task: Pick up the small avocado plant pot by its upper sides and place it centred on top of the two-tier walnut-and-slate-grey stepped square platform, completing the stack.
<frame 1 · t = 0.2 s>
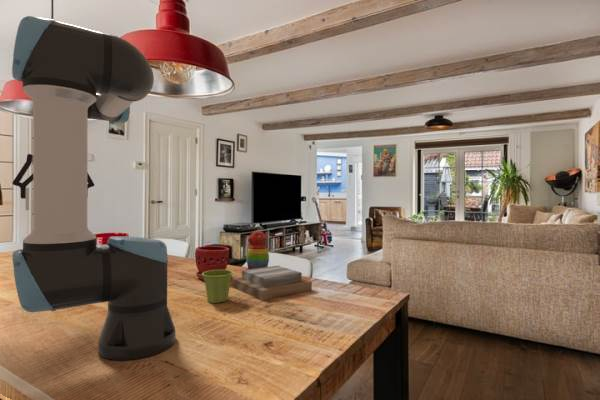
hand: (55, 209, 106), 28 cm above the table, fingers open, 13 cm apart
plant pot: (217, 301, 107), on the table
plant pot 2: (212, 278, 138), on the table
stepped square platform: (271, 288, 122), on the table
stacking bear: (256, 273, 146), on the table
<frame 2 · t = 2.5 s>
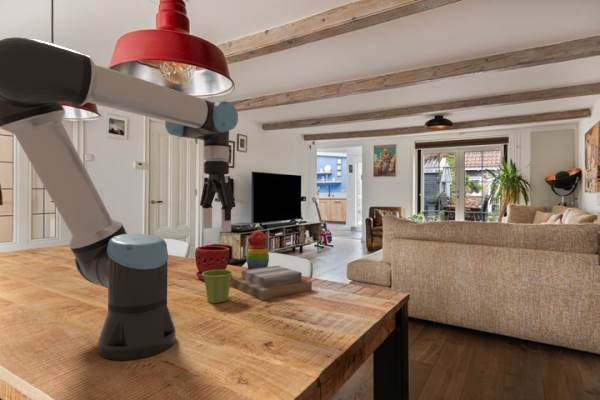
hand: (216, 230, 107), 22 cm above the table, fingers open, 13 cm apart
nothing on the table moved.
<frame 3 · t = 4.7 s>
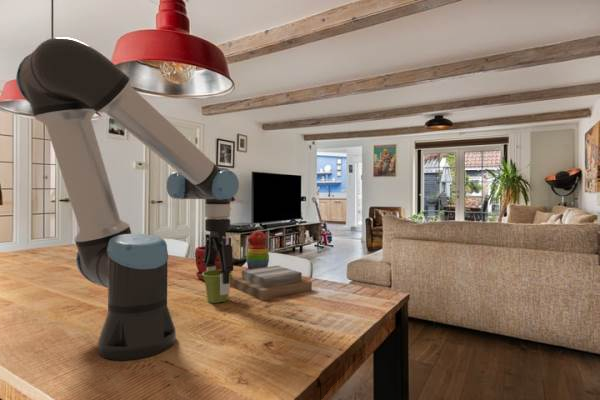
hand: (217, 290, 107), 3 cm above the table, fingers closed on plant pot, 9 cm apart
plant pot: (217, 301, 107), on the table, touching gripper
everything else where it was.
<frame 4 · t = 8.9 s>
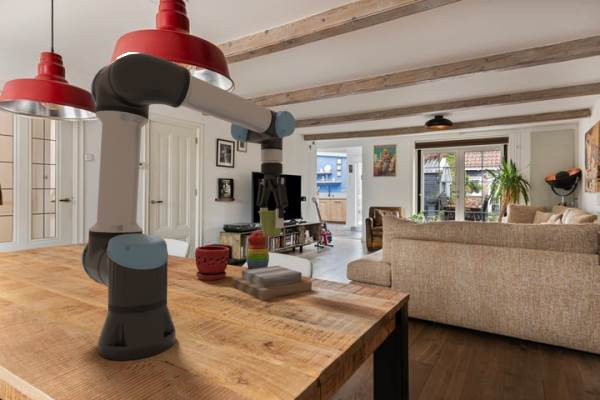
hand: (271, 226, 121), 22 cm above the table, fingers closed on plant pot, 9 cm apart
plant pot: (271, 236, 121), point 18 cm above the table, touching gripper
everything else where it was.
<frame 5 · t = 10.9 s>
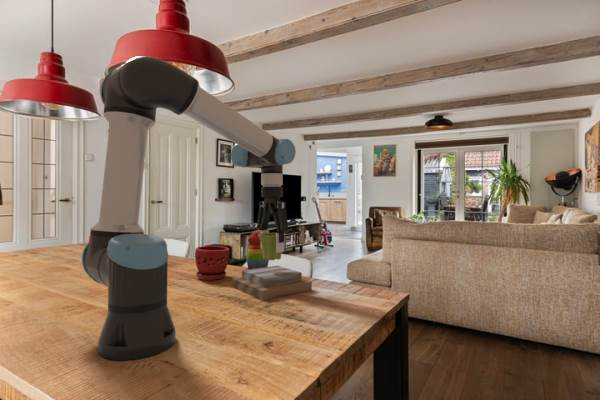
hand: (271, 250, 122), 13 cm above the table, fingers closed on plant pot, 9 cm apart
plant pot: (271, 259, 122), point 10 cm above the table, touching gripper
everything else where it was.
when the fingers open (9 cm above the table, at t = 12.9 s): plant pot stays where it is, resting on stepped square platform.
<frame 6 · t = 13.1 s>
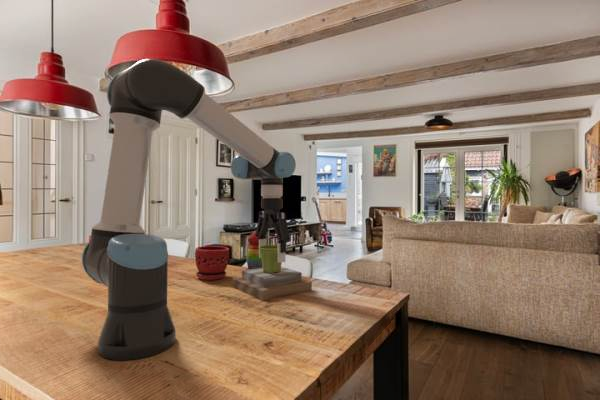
hand: (271, 259, 122), 10 cm above the table, fingers open, 11 cm apart
plant pot: (271, 272, 122), point 6 cm above the table, touching stepped square platform
everything else where it was.
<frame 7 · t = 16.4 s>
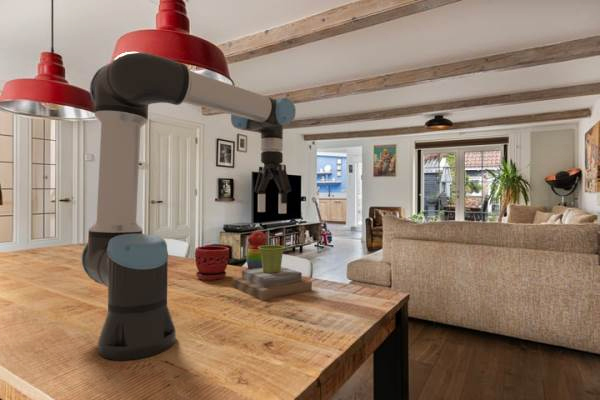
hand: (271, 212, 121), 27 cm above the table, fingers open, 13 cm apart
nothing on the table moved.
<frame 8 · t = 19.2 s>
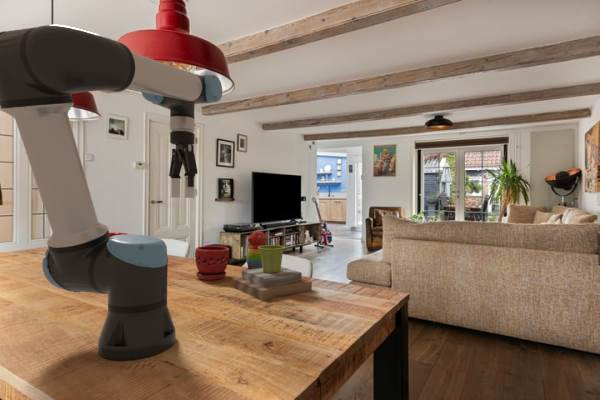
hand: (182, 197, 112), 32 cm above the table, fingers open, 13 cm apart
nothing on the table moved.
at the end: plant pot inside the target area on the stepped square platform (0.1 cm from its centre), point 5.8 cm above the stepped square platform's base; plant pot tilted 0°; the gripper is holding nothing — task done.
